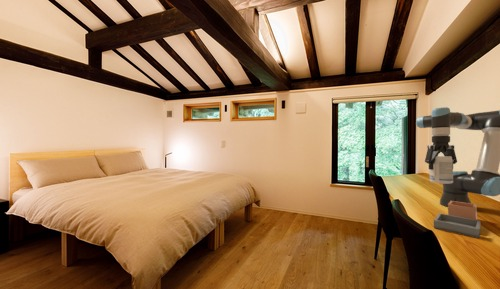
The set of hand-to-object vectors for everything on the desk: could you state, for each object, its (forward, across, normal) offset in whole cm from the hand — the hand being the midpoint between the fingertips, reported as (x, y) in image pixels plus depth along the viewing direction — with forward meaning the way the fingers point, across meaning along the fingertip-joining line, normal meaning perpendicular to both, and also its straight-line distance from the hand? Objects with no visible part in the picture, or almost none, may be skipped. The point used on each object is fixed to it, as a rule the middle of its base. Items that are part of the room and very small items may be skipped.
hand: (441, 175), depth 113 cm
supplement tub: (+4, 0, 0) cm, 4 cm away
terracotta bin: (+24, -8, +4) cm, 26 cm away
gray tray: (+25, +5, +12) cm, 28 cm away
